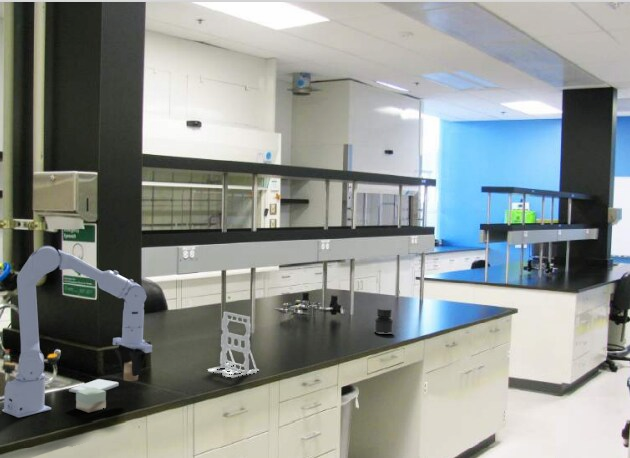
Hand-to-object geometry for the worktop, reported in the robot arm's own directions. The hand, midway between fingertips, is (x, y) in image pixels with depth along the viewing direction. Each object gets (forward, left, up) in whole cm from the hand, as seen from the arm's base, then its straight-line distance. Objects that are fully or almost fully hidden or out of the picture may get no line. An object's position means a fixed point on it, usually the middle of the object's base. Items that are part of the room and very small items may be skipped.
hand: (130, 373), depth 180 cm
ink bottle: (+151, -1, -9) cm, 151 cm away
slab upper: (-10, +4, -6) cm, 13 cm away
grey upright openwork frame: (+47, +3, -9) cm, 48 cm away
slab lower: (-10, +4, -9) cm, 14 cm away
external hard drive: (+2, +19, -9) cm, 21 cm away
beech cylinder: (0, 0, -2) cm, 2 cm away
